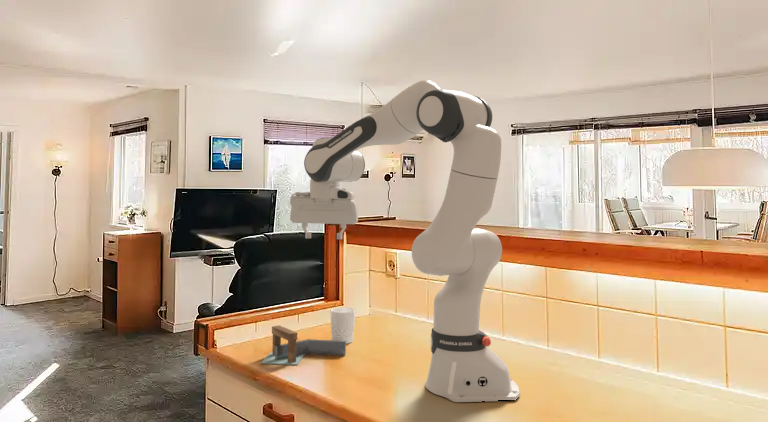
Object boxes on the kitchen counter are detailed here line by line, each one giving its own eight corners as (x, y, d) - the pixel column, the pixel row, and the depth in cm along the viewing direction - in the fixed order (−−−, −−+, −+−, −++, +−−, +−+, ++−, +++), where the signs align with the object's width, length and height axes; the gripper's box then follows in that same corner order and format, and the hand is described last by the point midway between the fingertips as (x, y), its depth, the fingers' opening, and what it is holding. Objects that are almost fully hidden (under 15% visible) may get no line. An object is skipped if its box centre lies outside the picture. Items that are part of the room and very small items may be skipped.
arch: (278, 352, 152) (279, 325, 152) (296, 361, 145) (297, 332, 145) (271, 354, 151) (271, 326, 151) (289, 363, 143) (289, 334, 143)
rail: (345, 354, 153) (346, 340, 153) (341, 363, 145) (341, 349, 145) (282, 351, 155) (282, 338, 154) (274, 360, 146) (274, 346, 146)
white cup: (356, 338, 170) (357, 307, 170) (352, 345, 162) (353, 313, 162) (332, 337, 171) (333, 306, 171) (327, 344, 163) (328, 312, 163)
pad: (305, 354, 153) (305, 353, 153) (297, 365, 143) (297, 364, 143) (271, 352, 153) (271, 351, 153) (260, 363, 143) (261, 362, 143)
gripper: (287, 191, 155) (287, 238, 155) (356, 193, 154) (355, 240, 154) (293, 192, 161) (292, 236, 162) (359, 193, 160) (358, 238, 160)
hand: (323, 238), depth 158 cm, fingers open, 8 cm apart
